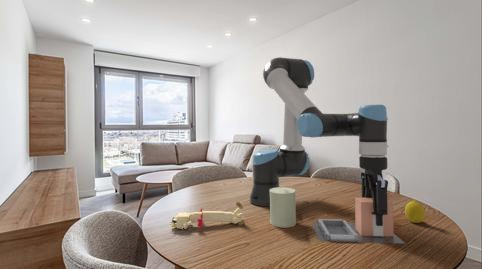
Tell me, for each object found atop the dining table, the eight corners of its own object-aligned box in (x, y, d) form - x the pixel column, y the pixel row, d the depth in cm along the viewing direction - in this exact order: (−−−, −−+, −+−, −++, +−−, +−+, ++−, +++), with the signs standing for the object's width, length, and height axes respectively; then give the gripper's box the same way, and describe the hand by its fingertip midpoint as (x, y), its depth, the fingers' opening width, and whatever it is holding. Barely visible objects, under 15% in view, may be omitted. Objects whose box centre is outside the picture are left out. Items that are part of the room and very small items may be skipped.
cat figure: (239, 221, 93) (171, 221, 88) (241, 198, 93) (173, 197, 88) (244, 231, 83) (168, 232, 78) (246, 206, 83) (170, 205, 78)
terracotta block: (361, 235, 73) (361, 202, 73) (355, 228, 78) (355, 197, 78) (393, 236, 72) (393, 202, 72) (385, 229, 77) (385, 197, 77)
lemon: (426, 228, 79) (425, 204, 79) (405, 225, 82) (405, 201, 82) (424, 222, 83) (424, 199, 83) (404, 220, 86) (404, 197, 86)
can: (280, 229, 80) (279, 193, 80) (264, 220, 88) (264, 187, 88) (301, 224, 85) (301, 189, 84) (285, 216, 93) (284, 184, 92)
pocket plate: (319, 243, 70) (319, 236, 70) (311, 224, 84) (311, 218, 84) (405, 246, 67) (405, 238, 67) (382, 226, 81) (382, 219, 81)
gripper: (402, 159, 65) (402, 245, 66) (373, 152, 83) (374, 220, 84) (372, 159, 66) (373, 245, 66) (350, 153, 84) (351, 220, 84)
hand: (373, 231), depth 75 cm, fingers closed on terracotta block, 5 cm apart
